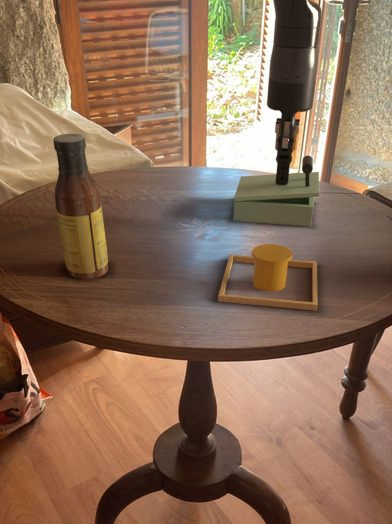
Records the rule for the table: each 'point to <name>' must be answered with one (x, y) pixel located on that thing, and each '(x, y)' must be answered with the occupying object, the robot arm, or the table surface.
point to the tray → (268, 301)
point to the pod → (270, 266)
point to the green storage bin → (275, 211)
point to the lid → (268, 189)
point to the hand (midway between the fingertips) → (281, 183)
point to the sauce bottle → (79, 210)
